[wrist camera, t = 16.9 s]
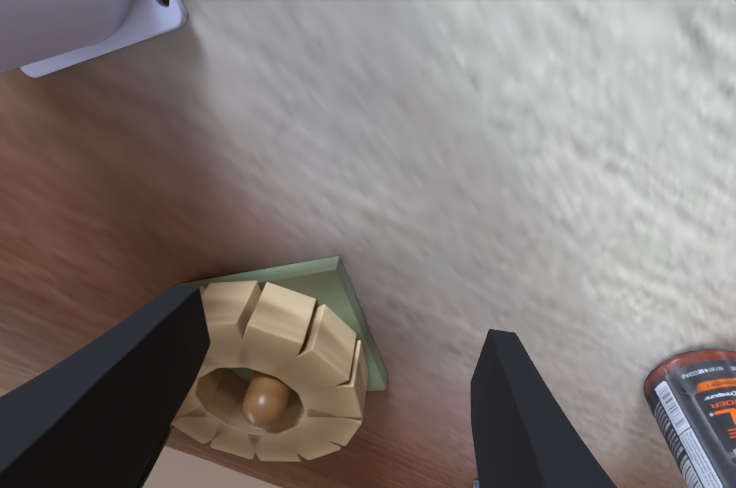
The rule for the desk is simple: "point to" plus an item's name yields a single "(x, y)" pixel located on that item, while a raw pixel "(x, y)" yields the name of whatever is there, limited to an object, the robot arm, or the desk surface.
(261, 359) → the ring
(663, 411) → the supplement bottle
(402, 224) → the desk surface
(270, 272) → the stand
